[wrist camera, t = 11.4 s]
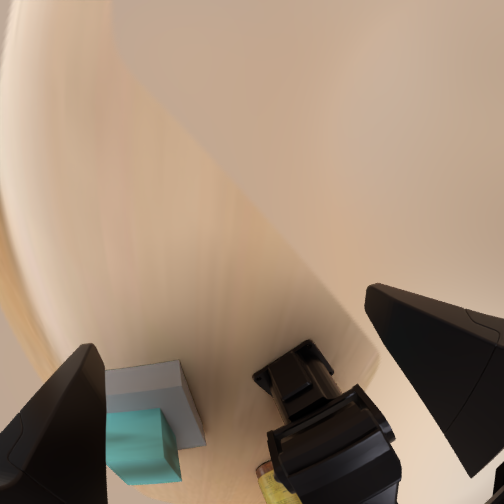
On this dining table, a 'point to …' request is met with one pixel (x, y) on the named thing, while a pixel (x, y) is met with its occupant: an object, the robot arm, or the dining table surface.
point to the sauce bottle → (274, 487)
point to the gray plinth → (157, 398)
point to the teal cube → (142, 447)
